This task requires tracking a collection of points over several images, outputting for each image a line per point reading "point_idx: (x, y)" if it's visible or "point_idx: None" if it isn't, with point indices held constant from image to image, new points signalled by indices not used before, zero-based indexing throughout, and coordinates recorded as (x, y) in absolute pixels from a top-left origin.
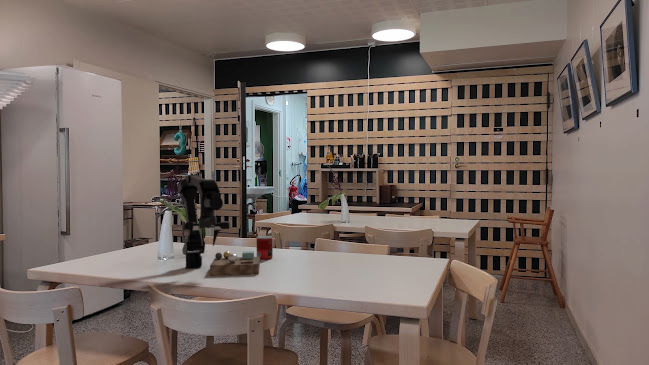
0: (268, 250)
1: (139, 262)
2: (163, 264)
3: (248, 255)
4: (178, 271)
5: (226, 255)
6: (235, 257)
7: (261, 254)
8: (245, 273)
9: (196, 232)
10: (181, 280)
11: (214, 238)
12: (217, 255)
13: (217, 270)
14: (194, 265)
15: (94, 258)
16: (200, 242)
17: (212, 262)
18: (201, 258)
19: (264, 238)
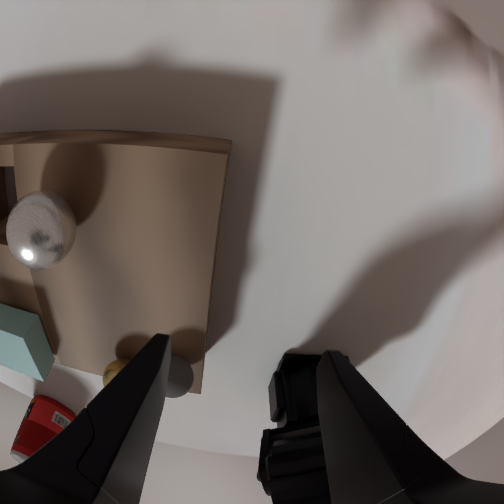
0: (27, 418)
1: (431, 425)
2: None
3: (3, 318)
4: (388, 312)
5: (121, 367)
6: (13, 206)
7: (50, 415)
8: (24, 132)
9: (491, 491)
10: (411, 76)
11: (111, 411)
12: (175, 369)
13: (173, 140)
14: (309, 368)
15: (471, 437)
16: (359, 381)
17: (208, 274)
18: (275, 404)
19: (23, 456)
